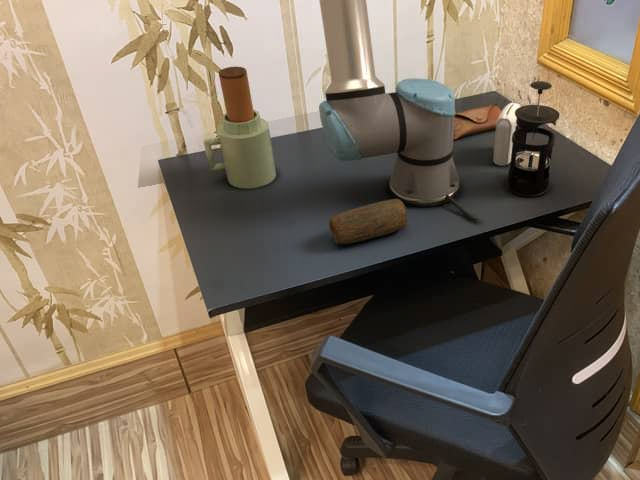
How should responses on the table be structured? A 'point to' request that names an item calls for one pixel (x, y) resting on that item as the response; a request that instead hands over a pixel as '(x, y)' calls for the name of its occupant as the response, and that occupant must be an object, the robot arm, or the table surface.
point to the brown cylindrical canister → (236, 94)
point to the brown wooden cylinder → (368, 221)
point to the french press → (532, 148)
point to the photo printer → (505, 134)
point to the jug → (244, 152)
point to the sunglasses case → (475, 121)
